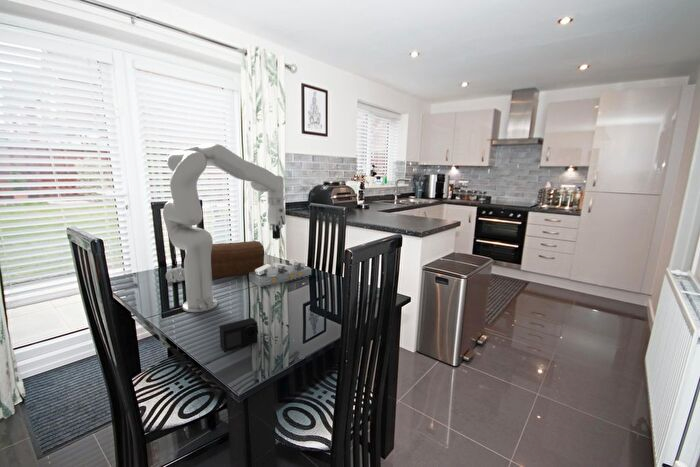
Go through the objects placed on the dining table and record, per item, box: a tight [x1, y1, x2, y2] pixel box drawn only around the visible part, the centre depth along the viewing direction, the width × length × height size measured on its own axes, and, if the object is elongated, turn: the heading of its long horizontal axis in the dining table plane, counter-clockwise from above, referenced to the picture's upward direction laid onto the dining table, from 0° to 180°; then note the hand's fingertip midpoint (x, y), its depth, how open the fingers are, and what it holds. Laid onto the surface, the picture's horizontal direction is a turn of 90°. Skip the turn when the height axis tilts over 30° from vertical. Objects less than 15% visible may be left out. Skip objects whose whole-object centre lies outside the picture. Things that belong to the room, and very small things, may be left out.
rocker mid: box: [272, 262, 290, 270], centre depth 161 cm, size 5×7×2 cm, turn 131°
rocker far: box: [288, 259, 306, 267], centre depth 167 cm, size 5×7×2 cm, turn 131°
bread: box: [211, 240, 265, 280], centre depth 169 cm, size 18×30×16 cm, turn 119°
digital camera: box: [219, 317, 259, 353], centre depth 98 cm, size 10×5×7 cm, turn 127°
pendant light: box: [165, 248, 185, 283], centre depth 151 cm, size 9×9×30 cm
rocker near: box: [255, 263, 273, 275], centre depth 155 cm, size 5×7×2 cm, turn 131°
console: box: [248, 264, 312, 288], centre depth 162 cm, size 12×29×5 cm, turn 131°
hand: (276, 238), depth 157 cm, fingers closed
